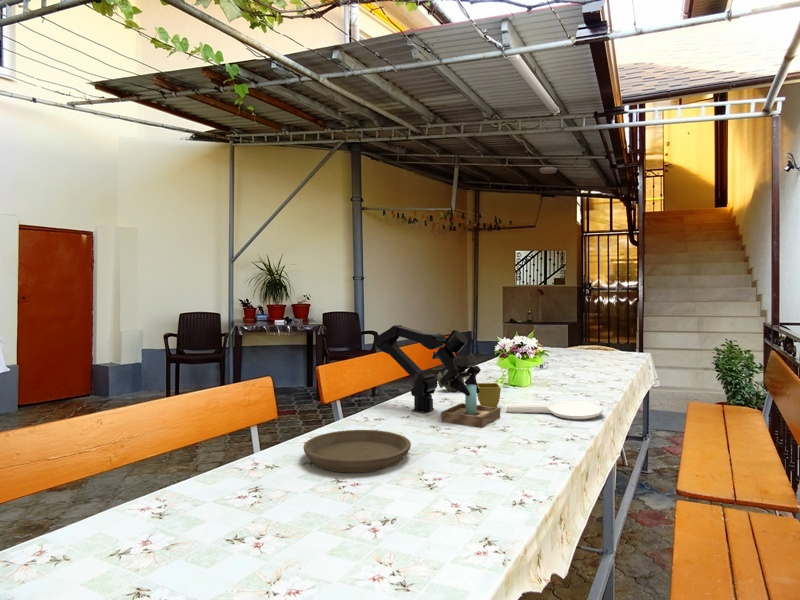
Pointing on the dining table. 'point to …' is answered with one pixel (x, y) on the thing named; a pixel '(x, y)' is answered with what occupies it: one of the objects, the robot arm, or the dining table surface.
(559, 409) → the white piece
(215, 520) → the dining table surface
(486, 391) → the flower pot
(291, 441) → the dining table surface
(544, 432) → the dining table surface
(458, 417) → the bore box
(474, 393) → the peg
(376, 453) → the plant saucer
